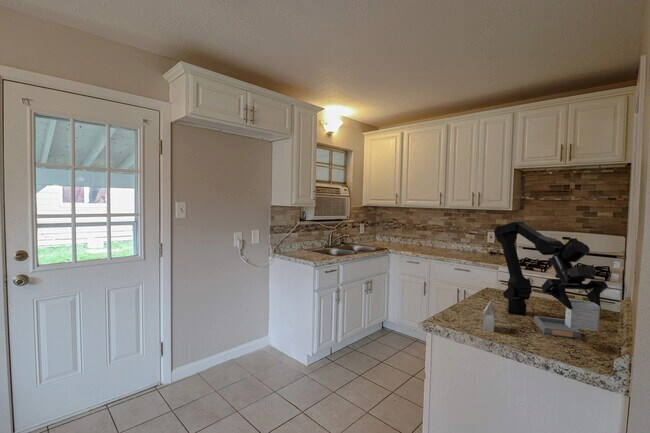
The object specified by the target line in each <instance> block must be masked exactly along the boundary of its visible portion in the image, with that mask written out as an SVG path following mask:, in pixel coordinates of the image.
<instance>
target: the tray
mask: <svg viewBox="0 0 650 433" xmlns="http://www.w3.org/2000/svg"><path fill="white" fill-rule="evenodd" d="M533 323H534V324H535V325H536V326H537V328H538V329H539V330H540V331H541V332H542V333H543V335H544V336H545V335H546V336H554V337H562V338H570V339H578V340H581V338H582V337H581V336H582V335H581V334H582V332H581V331H580V329H573V328H569V327H568V326H567V325H566V324H565V318H563V319H562V318H556V317H555V318H554V317H548V316H547V317H546V316H538V315H534V316H533Z"/></svg>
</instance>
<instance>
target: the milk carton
mask: <svg viewBox="0 0 650 433" xmlns="http://www.w3.org/2000/svg"><path fill="white" fill-rule="evenodd" d="M495 322H496V309H495V308H494V307H493V304H492V300H489V302H488V304H486V307H485V308H484V310H483V314H482V331H484V332H489V333H494V330H495Z"/></svg>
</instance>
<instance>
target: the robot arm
mask: <svg viewBox="0 0 650 433" xmlns="http://www.w3.org/2000/svg"><path fill="white" fill-rule="evenodd" d="M518 235H520V236H521V237H523V238H525V239H527V240H528V242H531V243H532V244H533V245H534V247H535V249H536V250H537V251H538V252H539V253H540V254H541V255H542V256H551V257H548V258H547V261H546V265H547V266H552V267H553V269H554V271H555V275H554V276H555V278H547V280H545V282H544V283H543V284H542V285H541V290H542V292H543V293H544V294H548V295H549V296H551V297H553V298H554V299H556V300H558V301H559V302H560V303H561V304H562V305H563V306H565V308H566V307H567V308H569V309H570V310H571V309H572V305H571V303H570V301H569V300H570V299H569V297H568V295H567V293H566V290H578V291H579V290H580V291H581V290H582V291H584V292H585V296H586V298H587V300H589V302H593V303H595V304H597V305H598V306H600V311H601V309H602V307H601V294H602V293H603V292H604V291H605V290H607V289H608V288H609V286H608V284H607V282H606V280H605V281H604V280H601V279H600V280H597V279H591V280H590V281H589V282H587V283H583V282H585V281H586V280H587V278H592V277H593V276H595V275H596V274H597V271H596V268H595V267H594V266H593V265H588V264H587V265H585V266H574V265H573V263H577V262H579V261H580V260H581V259H582V258H584V257H585V256H586V255H588V254H589V253H590V250H591V249H590V247H589V246H588V244H585V243H584V242H582V241H580V240H579V239H577V238H570V239H568V241H567V242H566V243H565V244H564V243H563V242H562V241H561V240H559V239H557V238H554V237H549V236H546V235H544V234H542V233H540V232H539V231H537V230H536V229H534V228H532V227H531V226H529V225H528V224H526V222H524V221H513V222H510V223H507V224H503V225H498V226H496V228H495V229H494V236H495V239H496V241H497V242H498V243H499V244H500V245H501V247H502V249H503V255H504V258H505V262H506V266H507V272H508V274H509V278H508V281H507V289H505V290H504V291H503V292H502V294H503V298H505V299H506V308H505V311H506V312H507V313H508V314H510V315H519V316H526V315H527V314H526V313H527V303H526V301H527V300H530V297H531V295H532V293H533V286H532V284H531V279H530V278H527V277H525V276H524V275H523V270H522V266H521V262H520V260H519V256H518V252H517V247H516V245H515V244H516V243H515V242H516V241H517V236H518Z"/></svg>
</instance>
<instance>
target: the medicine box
mask: <svg viewBox="0 0 650 433" xmlns="http://www.w3.org/2000/svg"><path fill="white" fill-rule="evenodd" d="M569 301H570V303H571V305H572V309H571V310H570V309H569V308H567V307H566V306H565V316H564V317H565V318H564V319H565V324H566V325H567V326H568V327H569V328H573V329H578V330H583V331H584V330H585V331H591V332H599V325H600V312H601V310H600V306H601V305H600V306H598V305H597V304H595V303H593V302H590V301H584V300H583V301H582V300H574V299H569Z"/></svg>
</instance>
